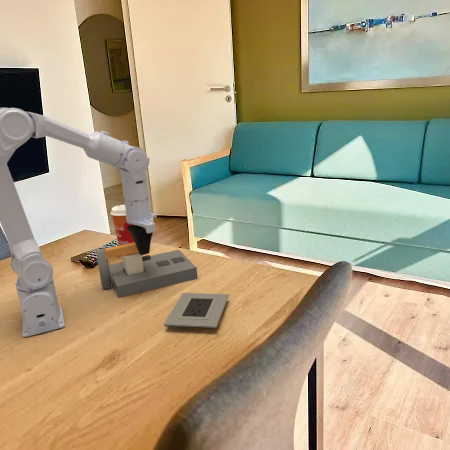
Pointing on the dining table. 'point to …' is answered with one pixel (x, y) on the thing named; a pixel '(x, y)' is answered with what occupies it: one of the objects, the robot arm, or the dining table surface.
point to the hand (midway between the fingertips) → (144, 253)
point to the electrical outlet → (197, 311)
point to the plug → (134, 263)
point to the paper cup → (121, 225)
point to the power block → (153, 273)
